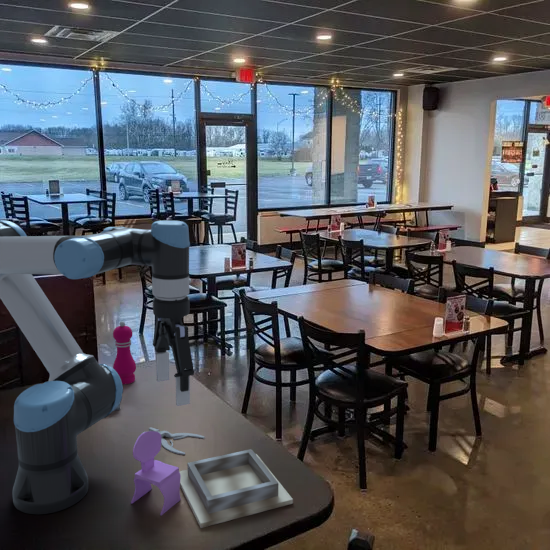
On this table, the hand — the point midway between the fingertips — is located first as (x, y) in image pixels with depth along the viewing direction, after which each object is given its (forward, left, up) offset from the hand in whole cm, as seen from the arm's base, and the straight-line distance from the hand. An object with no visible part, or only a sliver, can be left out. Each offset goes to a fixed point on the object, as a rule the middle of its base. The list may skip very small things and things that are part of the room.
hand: (172, 391), depth 122 cm
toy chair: (-5, -6, -22) cm, 23 cm away
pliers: (+3, +20, -22) cm, 30 cm away
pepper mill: (0, +63, -22) cm, 67 cm away
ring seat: (+11, -8, -22) cm, 25 cm away
